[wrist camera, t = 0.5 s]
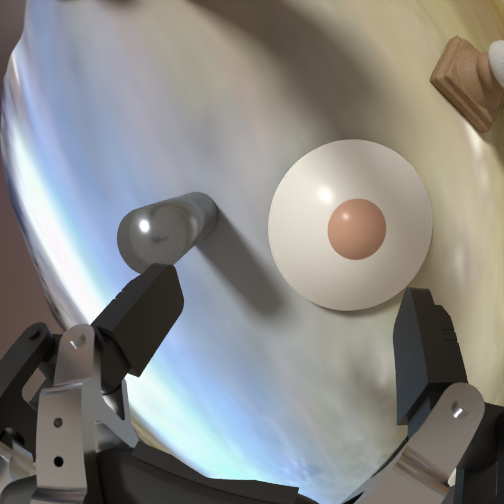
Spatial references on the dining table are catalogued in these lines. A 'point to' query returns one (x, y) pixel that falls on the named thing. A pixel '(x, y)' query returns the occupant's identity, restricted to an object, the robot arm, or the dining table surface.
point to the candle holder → (472, 80)
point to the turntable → (350, 225)
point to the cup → (165, 230)
